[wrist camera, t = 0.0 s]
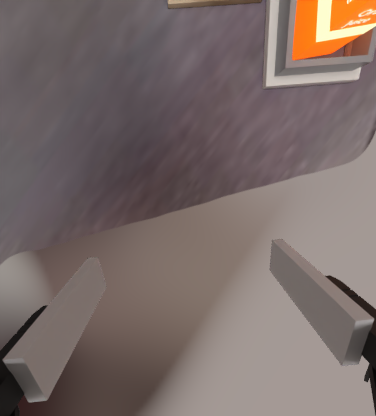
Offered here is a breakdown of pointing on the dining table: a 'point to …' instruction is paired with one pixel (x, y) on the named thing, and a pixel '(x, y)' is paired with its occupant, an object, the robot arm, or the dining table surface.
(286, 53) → the collar holder
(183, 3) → the oak board
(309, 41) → the orange juice
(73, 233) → the dining table surface
